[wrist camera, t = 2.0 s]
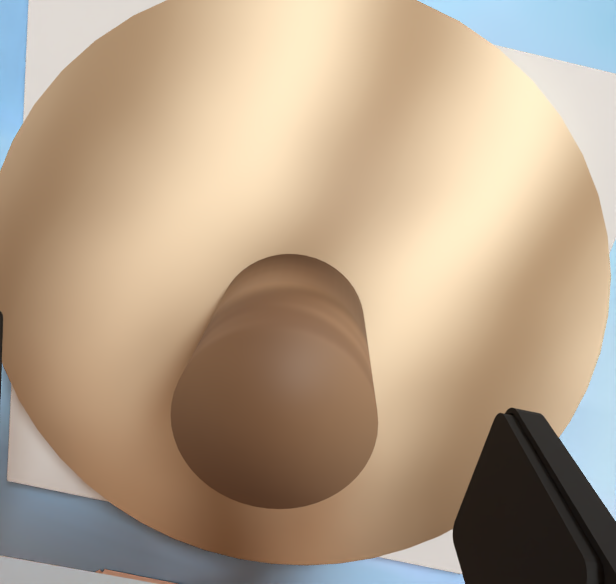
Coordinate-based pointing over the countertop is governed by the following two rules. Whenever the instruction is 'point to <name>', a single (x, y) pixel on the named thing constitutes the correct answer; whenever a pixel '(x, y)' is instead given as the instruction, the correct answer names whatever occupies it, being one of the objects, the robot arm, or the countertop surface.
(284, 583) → the countertop surface
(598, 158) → the mat
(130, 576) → the bowl
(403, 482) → the lid
